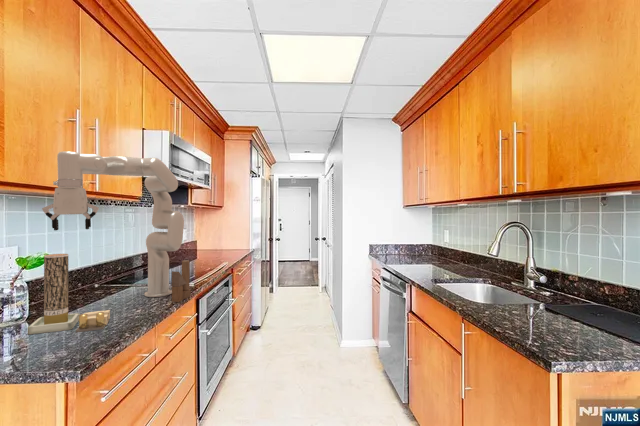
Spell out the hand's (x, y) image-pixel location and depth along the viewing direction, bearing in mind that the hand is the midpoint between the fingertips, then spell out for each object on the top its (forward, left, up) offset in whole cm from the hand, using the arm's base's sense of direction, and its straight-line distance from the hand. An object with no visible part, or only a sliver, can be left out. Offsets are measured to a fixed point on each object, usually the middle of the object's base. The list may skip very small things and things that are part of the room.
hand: (72, 229), depth 125 cm
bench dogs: (+14, +9, -35) cm, 38 cm away
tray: (+6, -3, -35) cm, 35 cm away
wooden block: (-16, +40, -35) cm, 55 cm away
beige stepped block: (+7, +9, -35) cm, 37 cm away
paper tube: (+6, -3, -34) cm, 35 cm away
